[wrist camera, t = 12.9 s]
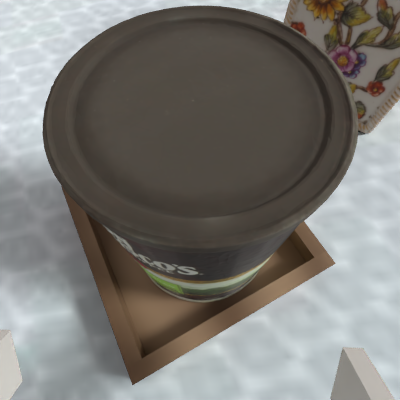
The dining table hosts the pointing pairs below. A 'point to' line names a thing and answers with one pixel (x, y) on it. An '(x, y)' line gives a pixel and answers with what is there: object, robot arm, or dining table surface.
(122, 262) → the holder tray
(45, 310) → the dining table surface
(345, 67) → the decorative jar
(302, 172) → the coffee can
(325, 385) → the dining table surface
